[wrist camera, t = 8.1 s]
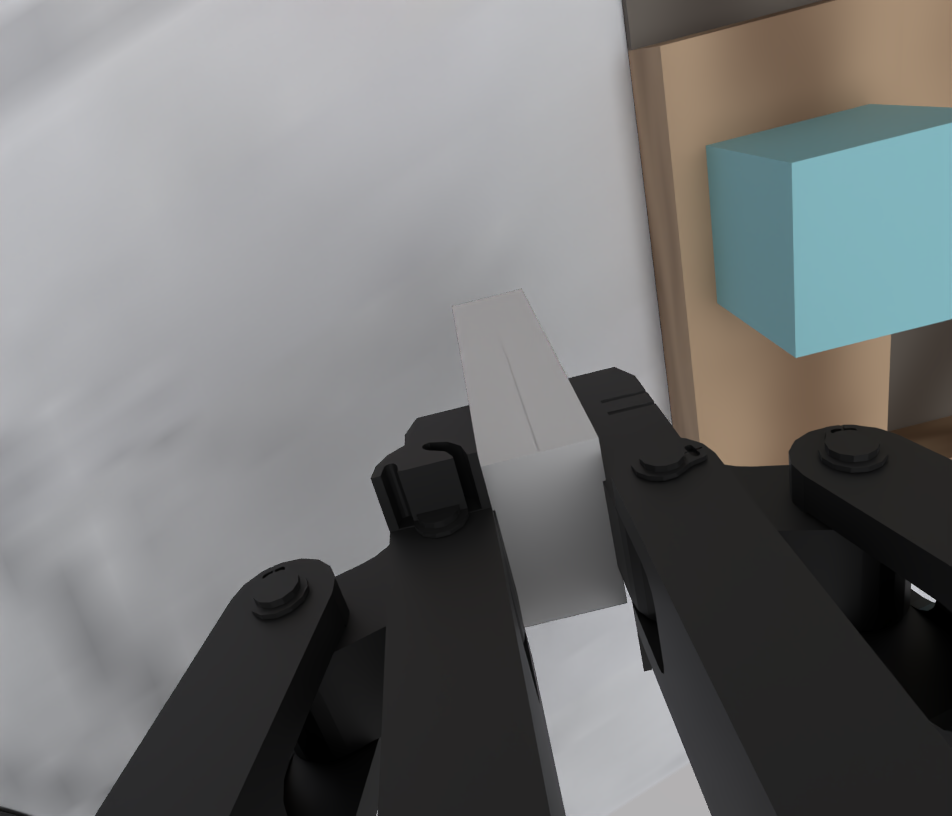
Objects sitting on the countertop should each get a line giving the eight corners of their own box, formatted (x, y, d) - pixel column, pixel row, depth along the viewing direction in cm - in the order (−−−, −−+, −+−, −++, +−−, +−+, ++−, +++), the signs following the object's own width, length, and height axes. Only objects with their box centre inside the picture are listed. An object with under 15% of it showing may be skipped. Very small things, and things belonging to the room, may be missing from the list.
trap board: (682, 507, 30) (732, 583, 25) (539, -689, 15) (598, -1012, 11) (1021, 421, 29) (1132, 482, 25) (1201, -872, 15) (1540, -1275, 11)
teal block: (717, 303, 23) (795, 357, 18) (705, 145, 20) (791, 162, 16) (865, 266, 23) (981, 311, 18) (869, 103, 20) (1002, 110, 16)
